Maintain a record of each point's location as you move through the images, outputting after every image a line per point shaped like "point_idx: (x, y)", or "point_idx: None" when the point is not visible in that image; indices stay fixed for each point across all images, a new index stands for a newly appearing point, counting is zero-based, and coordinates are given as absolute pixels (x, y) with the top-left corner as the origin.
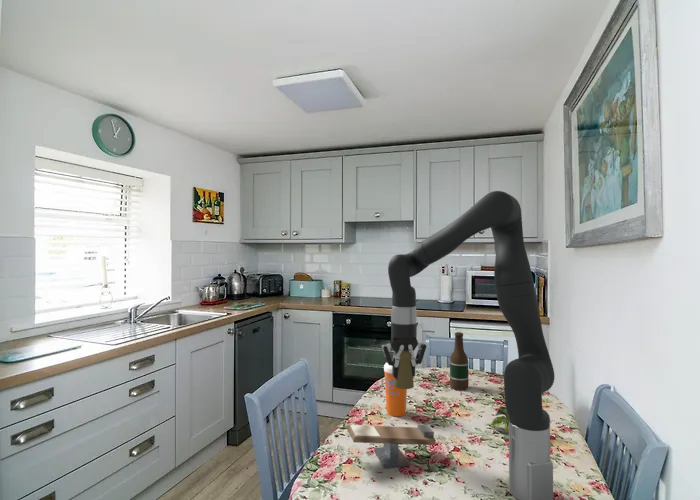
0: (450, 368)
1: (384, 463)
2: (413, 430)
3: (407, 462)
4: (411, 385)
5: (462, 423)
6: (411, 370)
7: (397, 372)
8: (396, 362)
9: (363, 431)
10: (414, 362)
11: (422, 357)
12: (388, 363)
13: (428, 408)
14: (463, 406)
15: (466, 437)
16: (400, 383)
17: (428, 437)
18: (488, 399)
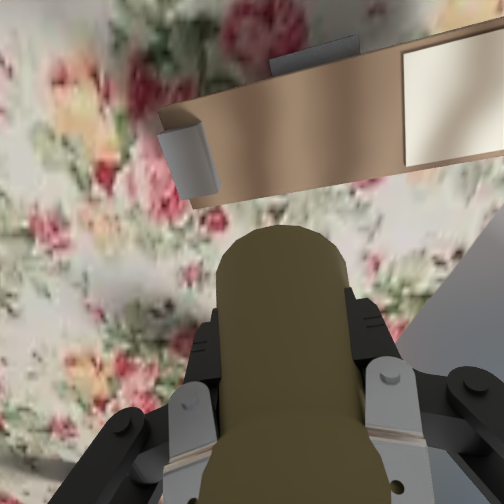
0: None
1: (356, 47)
2: (237, 174)
3: (273, 58)
4: (234, 253)
5: (84, 319)
6: (222, 347)
7: (354, 323)
8: (396, 402)
9: (477, 85)
10: (180, 416)
11: (71, 480)
12: (501, 384)
13: (172, 391)
14: (81, 399)
15: (74, 244)
16: (318, 252)
17: (184, 124)
18: (18, 429)
